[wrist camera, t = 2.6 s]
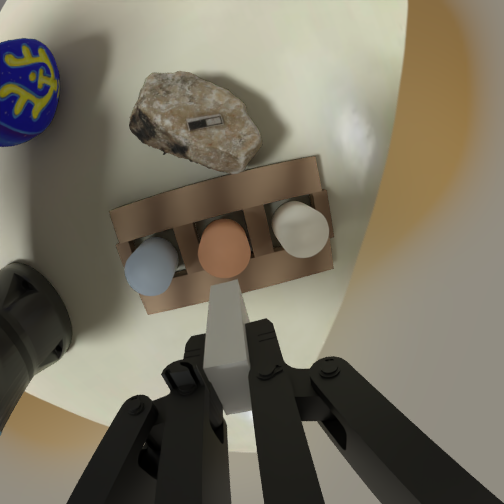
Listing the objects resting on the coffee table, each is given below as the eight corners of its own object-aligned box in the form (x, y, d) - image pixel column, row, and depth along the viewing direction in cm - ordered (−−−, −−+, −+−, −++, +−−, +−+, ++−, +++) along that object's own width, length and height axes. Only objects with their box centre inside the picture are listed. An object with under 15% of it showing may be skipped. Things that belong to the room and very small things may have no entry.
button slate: (145, 282, 28) (135, 300, 24) (130, 243, 26) (117, 256, 22) (184, 272, 28) (178, 290, 24) (170, 232, 26) (162, 243, 22)
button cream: (276, 249, 28) (285, 263, 24) (267, 206, 26) (274, 214, 23) (317, 238, 28) (332, 250, 24) (310, 196, 26) (324, 202, 23)
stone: (243, 180, 27) (250, 181, 20) (130, 145, 24) (103, 137, 18) (268, 115, 25) (283, 96, 19) (156, 81, 23) (138, 55, 16)
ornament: (73, 135, 23) (-24, 130, 9) (17, 154, 22) (-72, 167, 8) (77, 49, 20) (2, 2, 5) (21, 74, 19) (-58, 54, 5)
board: (147, 309, 30) (144, 315, 29) (110, 210, 26) (104, 212, 25) (333, 262, 31) (337, 267, 29) (315, 155, 27) (319, 155, 25)
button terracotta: (208, 266, 28) (206, 283, 24) (195, 225, 26) (191, 235, 22) (251, 255, 28) (255, 271, 24) (240, 213, 26) (243, 222, 23)
